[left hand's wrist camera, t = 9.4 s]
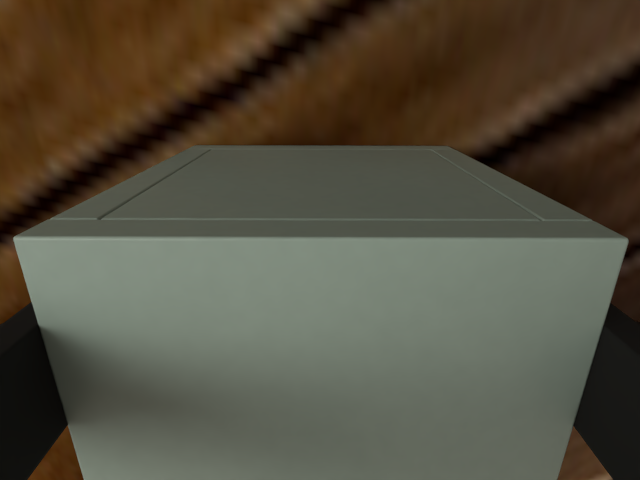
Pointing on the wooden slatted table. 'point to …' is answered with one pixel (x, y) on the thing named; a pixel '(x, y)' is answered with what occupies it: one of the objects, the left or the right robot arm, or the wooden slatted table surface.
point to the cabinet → (320, 317)
